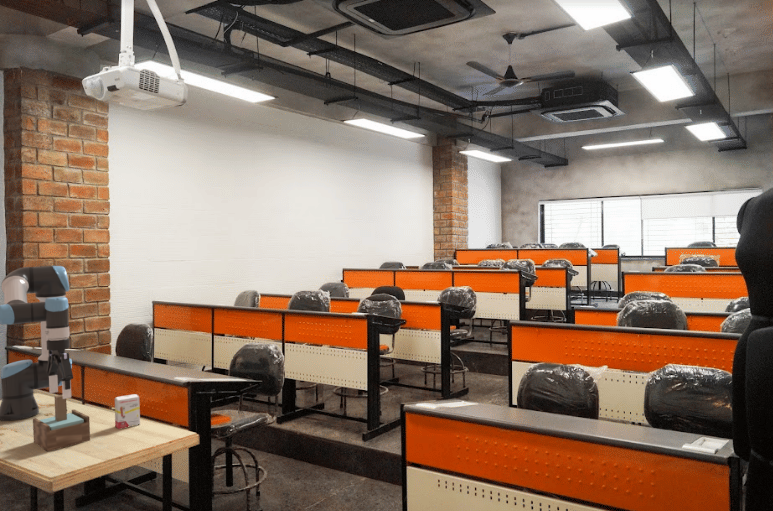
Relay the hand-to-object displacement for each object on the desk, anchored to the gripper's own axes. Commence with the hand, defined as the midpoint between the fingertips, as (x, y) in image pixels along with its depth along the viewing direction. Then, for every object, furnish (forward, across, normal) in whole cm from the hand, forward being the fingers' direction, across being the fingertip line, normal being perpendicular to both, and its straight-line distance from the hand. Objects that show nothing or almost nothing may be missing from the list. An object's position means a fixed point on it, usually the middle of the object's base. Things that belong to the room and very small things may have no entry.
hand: (60, 395), depth 213 cm
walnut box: (+18, 0, 0) cm, 18 cm away
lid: (+10, 0, 0) cm, 11 cm away
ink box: (+18, +1, +24) cm, 30 cm away
